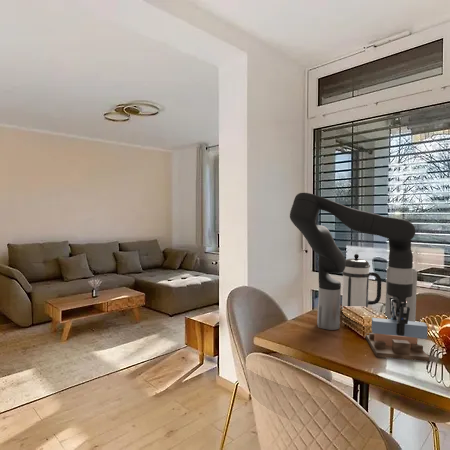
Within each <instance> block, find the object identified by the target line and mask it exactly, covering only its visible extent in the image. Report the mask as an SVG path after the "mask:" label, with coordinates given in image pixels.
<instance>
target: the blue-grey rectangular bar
mask: <svg viewBox="0 0 450 450" xmlns="http://www.w3.org/2000/svg"><path fill="white" fill-rule="evenodd" d="M396 321H397V320H392V319H385V318H379V317H371V333H376V334H386V335H395V336H400V335H397V334H396V330H397V322H396ZM404 336H405V337H414V338H417V339H426V340H428V326H427V323H426V322H421V321H415V322H414V321H408V324H405V331H404Z"/></svg>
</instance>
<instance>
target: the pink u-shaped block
mask: <svg viewBox="0 0 450 450" xmlns="http://www.w3.org/2000/svg"><path fill="white" fill-rule="evenodd" d="M392 339H394V340H406V341H408V342H409V343H410V348H411V344H418V338H414V337H405V336H395V335H386V334H376V333H374V341H383V342H385V343H386V345H387V346H392Z"/></svg>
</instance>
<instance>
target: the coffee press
mask: <svg viewBox="0 0 450 450" xmlns="http://www.w3.org/2000/svg"><path fill="white" fill-rule="evenodd" d="M353 257H354V258H348V259H345V261H346V266H345V269H344V271H343V272H342V296H341V299H342V300H341V302H342V303H341V305H342V306H340V311H341V309H342V310H343V306H366V307H368V308H369V306H370V305H377V304H378V303H379V302H380V300H381V297H382V279H381V276H380V275H379V274H378V273H376V272H373V271H372V272H371V271H370V268H371V265H370V263H369V262H368V261H367V260H366V259H361V258H359V257H360V255H359V254H357V253H355V254H354V255H353ZM370 277H375V279H376V284H377V285H376V298H375V299H374V300H369V286H370V285H369V282H370V281H369V280H370Z"/></svg>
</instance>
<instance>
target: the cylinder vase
mask: <svg viewBox="0 0 450 450" xmlns="http://www.w3.org/2000/svg"><path fill="white" fill-rule="evenodd" d="M388 267H389V266H387V267H386V274H387V273H388ZM412 270H413V292H412V296H411V297H407V298H406V301H407V307H409V308H410V311H409V318H408V320H409V321H414V322H416V311H417V310H416V309H417V287H418V285H417V284H418V269H415V268H412ZM385 280H386V283H385V303H384V307H385V309H384V311H385V312H384V317H385V316H387V318H388V319H391V318H392V315H391V314H390V299H389V298H390V297H393V296H390V295H388V294H387V276H386V279H385Z"/></svg>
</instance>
